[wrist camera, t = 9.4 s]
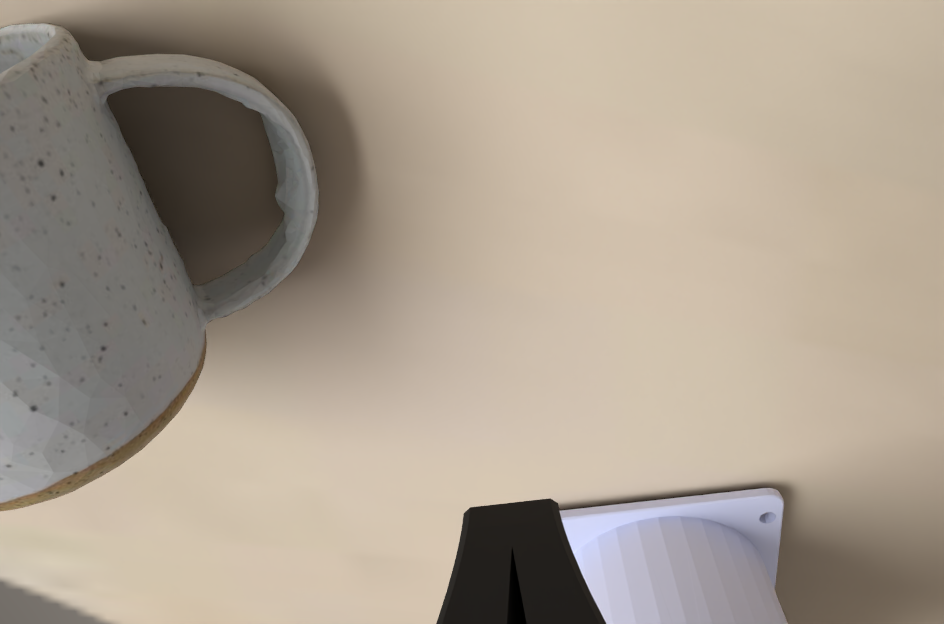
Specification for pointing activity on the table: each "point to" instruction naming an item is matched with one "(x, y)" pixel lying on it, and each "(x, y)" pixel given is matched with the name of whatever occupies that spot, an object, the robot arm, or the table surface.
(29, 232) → the ceramic mug
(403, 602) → the table surface
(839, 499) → the table surface
